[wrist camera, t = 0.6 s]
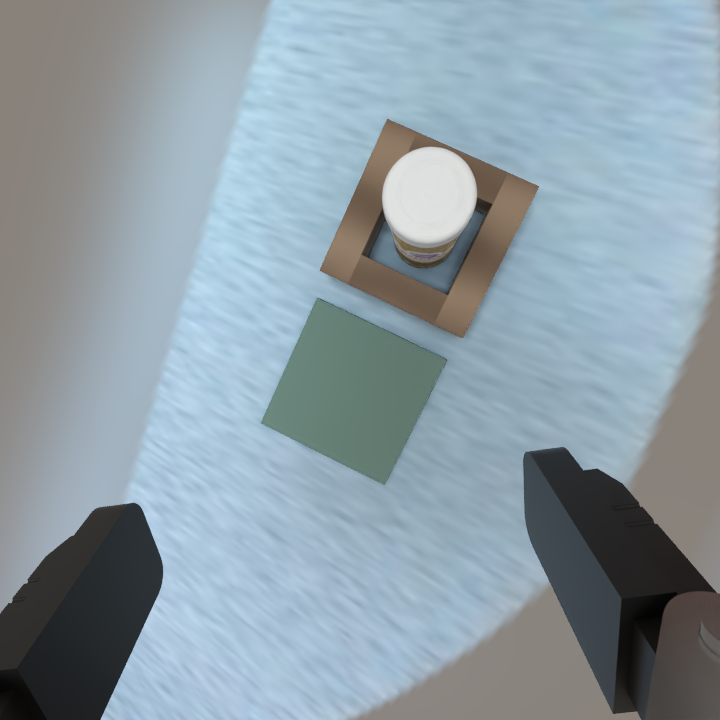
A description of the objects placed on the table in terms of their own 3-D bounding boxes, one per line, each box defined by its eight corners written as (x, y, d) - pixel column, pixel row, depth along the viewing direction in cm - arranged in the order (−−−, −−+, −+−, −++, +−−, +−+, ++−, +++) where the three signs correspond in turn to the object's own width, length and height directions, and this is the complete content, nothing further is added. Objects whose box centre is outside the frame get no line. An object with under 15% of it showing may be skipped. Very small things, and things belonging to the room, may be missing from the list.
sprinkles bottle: (401, 274, 36) (391, 253, 23) (388, 215, 36) (371, 158, 23) (461, 260, 36) (487, 230, 22) (448, 199, 35) (467, 131, 22)
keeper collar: (390, 137, 35) (387, 118, 32) (527, 199, 35) (539, 186, 31) (328, 274, 37) (319, 270, 33) (458, 335, 36) (462, 338, 33)
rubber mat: (318, 298, 37) (317, 297, 37) (446, 359, 36) (447, 360, 36) (262, 422, 39) (260, 423, 38) (384, 483, 38) (384, 485, 38)
